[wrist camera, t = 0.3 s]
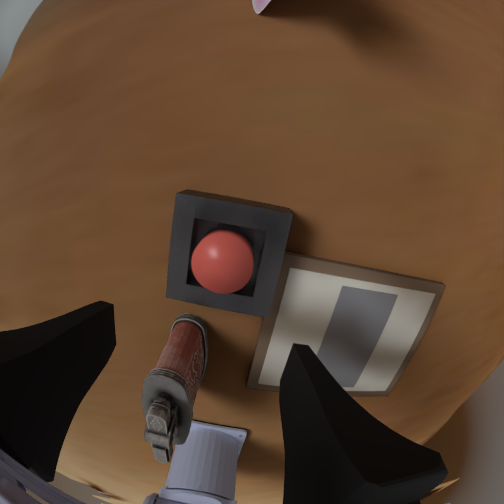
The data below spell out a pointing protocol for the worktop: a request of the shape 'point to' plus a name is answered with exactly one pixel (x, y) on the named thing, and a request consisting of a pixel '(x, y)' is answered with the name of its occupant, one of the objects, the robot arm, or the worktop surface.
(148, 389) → the lighter
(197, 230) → the button housing
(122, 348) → the worktop surface
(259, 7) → the lily
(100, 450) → the worktop surface
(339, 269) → the board
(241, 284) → the button
